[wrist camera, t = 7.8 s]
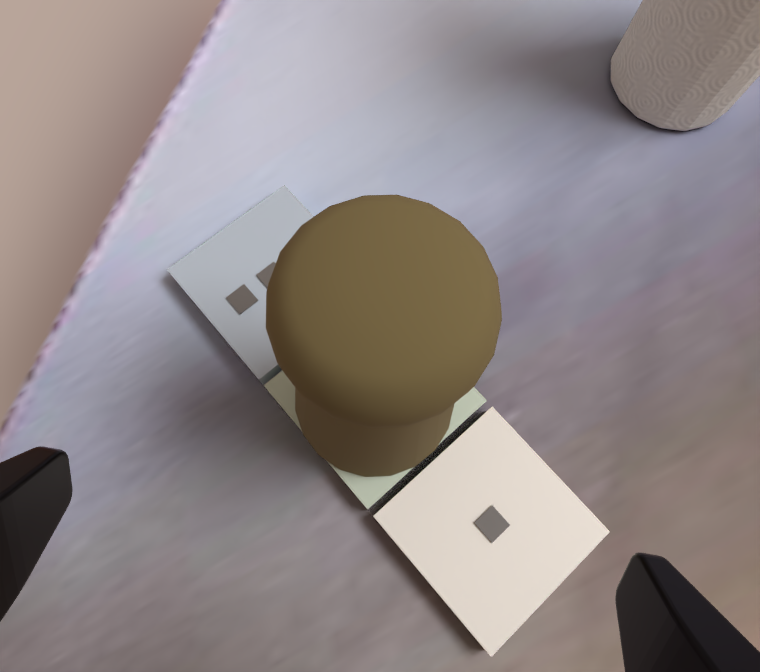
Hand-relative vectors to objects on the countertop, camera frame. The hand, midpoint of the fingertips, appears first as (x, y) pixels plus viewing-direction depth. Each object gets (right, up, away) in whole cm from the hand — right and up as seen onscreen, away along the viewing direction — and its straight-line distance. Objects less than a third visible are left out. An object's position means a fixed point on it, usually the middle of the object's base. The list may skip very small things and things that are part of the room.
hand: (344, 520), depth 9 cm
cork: (0, +1, +13) cm, 13 cm away
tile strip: (0, 0, +14) cm, 14 cm away
